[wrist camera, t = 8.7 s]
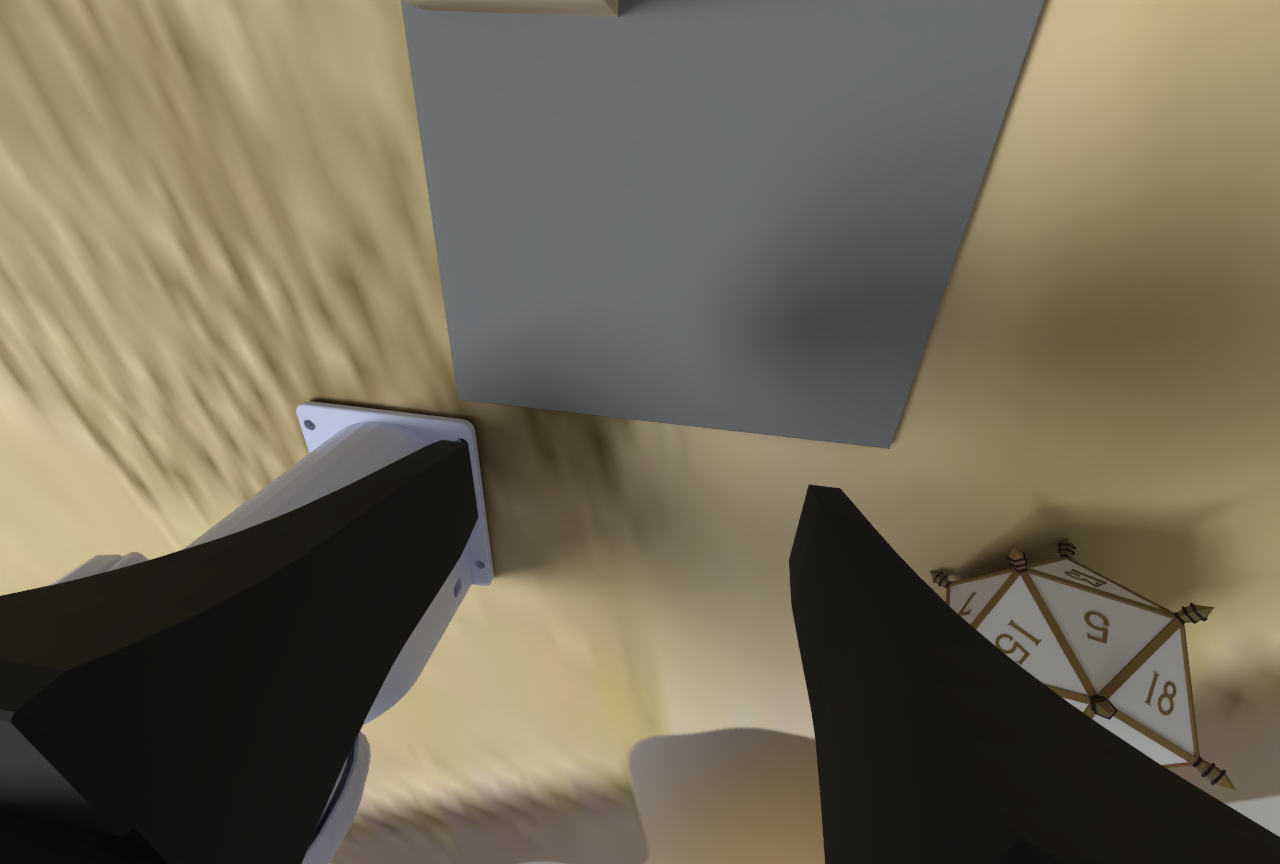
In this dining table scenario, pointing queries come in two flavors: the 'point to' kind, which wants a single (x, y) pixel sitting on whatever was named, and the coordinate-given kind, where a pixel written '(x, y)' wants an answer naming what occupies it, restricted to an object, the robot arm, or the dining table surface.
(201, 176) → the dining table surface
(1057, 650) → the game die
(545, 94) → the mat
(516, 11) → the maple block
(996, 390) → the dining table surface
